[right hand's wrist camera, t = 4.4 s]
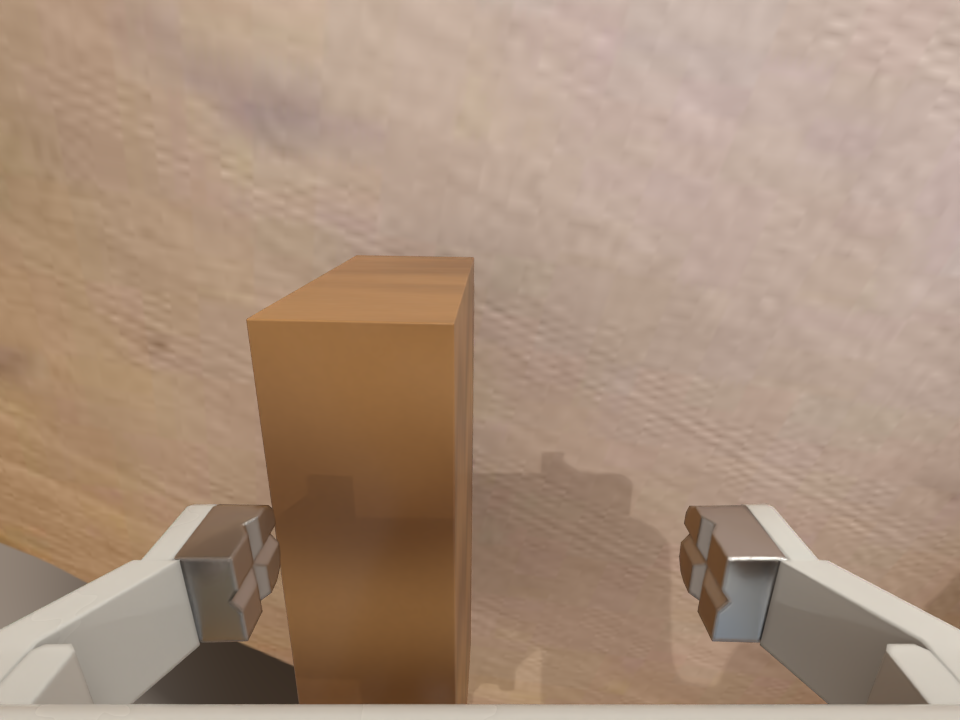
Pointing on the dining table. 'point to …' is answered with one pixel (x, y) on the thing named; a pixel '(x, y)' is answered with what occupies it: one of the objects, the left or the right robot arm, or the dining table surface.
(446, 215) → the dining table surface
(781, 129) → the dining table surface
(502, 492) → the dining table surface
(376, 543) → the box
